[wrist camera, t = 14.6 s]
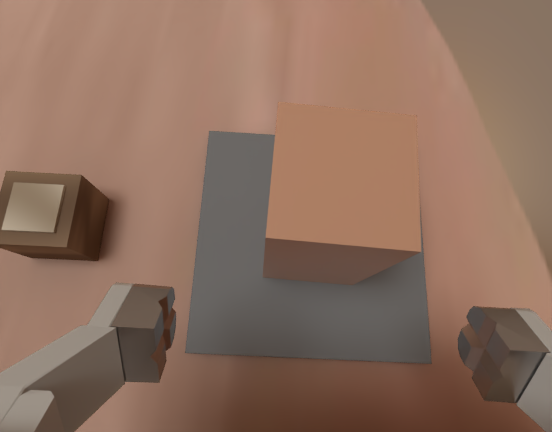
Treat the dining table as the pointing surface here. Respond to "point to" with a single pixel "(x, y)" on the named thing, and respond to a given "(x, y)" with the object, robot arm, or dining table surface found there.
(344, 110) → the tan rectangular pillar
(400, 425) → the dining table surface
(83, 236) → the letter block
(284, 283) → the grey mat
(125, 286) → the robot arm
